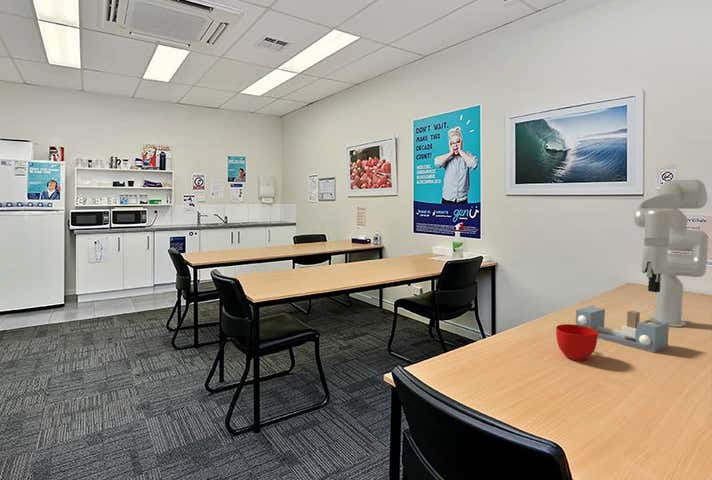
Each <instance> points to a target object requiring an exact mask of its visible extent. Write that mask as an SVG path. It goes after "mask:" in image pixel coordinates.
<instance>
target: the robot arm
mask: <svg viewBox="0 0 712 480" xmlns="http://www.w3.org/2000/svg"><path fill="white" fill-rule="evenodd" d="M707 203H708V192H707V189H706V185H705V184H704V182H702V181H701V179H674V180H668V181H665V182H663V184H661V186H660V188H659V190H658V192H657V194H656V195H655V196H652V197H650V198H647V199H645V200H643V201H642V202H640V204H638V206H637V208H636V210H635V213H634V215H633V216H634V217H633V218H634V219H633V220H634V224H635V226H637V228H642V229H643V228H644V238H643V239H644V242H643V244H644V245H643V248H644V249H643V253H642V261H641V269H640V270H641V272H642V273H643V274H646V275H645V277H646V278H647V279H648V285H647V287H648V289H647V290H648V292H653V293H655V308H654V316H651V317H650V318H649V319H655V320H659V321H664V322H669V327H672V328H673V327H674V328H680V327H686V325H687V324H686V323H687V322H686V321H684V320H682V317H683V297H684V284H683V282H682V281H681V279H680V278H679V277H689V278H701V277H703V276H705V274H706V272H707V263H708V251H709V250H708V249H709V248H708V247H709V237H708V234H707V233H706V232H705V231H704V230H699V229H688V228H687V226H688V217H687V216H686V215H685V213H683V212H682V211H681V210H682V209H683V210H685V209H691V210H692V209H693V210H694V209H695V210H696V209H703V208H704V207H705V206H706V205H707ZM680 209H681V210H680ZM668 251H674V252H675V251H676V252H689V253H690V252H691V253H692V254H685V253H671V252H668ZM678 276H679V277H678Z"/></svg>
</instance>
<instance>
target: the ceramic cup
mask: <svg viewBox="0 0 712 480" xmlns="http://www.w3.org/2000/svg"><path fill="white" fill-rule="evenodd" d="M555 332H556V333H555V335H556V343H557V345H558V347H559V350H560V351H561V352H562V354H563V355H564V357H566V358H568V359H570V360H572V361H579V362H580V361H585V360H587V359H588V358H590V357H591V356H592V354H593V353H594V352H595V349H596V346H597V344H598V339H599V338H598V332H597V331H596V330H595V329H592V328H589V327H586V326H581V325H576V324H573V323H572V324H571V323H569V324H567V323H566V324H565V323H563V324H560V325H559V324H558V325H557V326H556V327H555Z"/></svg>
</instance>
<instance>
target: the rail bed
mask: <svg viewBox="0 0 712 480" xmlns="http://www.w3.org/2000/svg"><path fill="white" fill-rule="evenodd" d="M605 313H606V308H600V307H596V306H591V305H590V306H586V307H583V308H582V307H581V308H579V309H576V311H575V325H581V326H586V327H589V328H592V329H595V330H596V331H597V332H598V338H597V339H600V340H603V341H604V340H605V341H609V342H612V343H615V344H620V345H623V346H627V347H630V348H634V349H637V350H642V351H645V352H649V353H654V354H655V353H657V352H660V351H662V350H664V349H666V348H668V345H669V331H670V326H669V322H664V321H659V320H655V319H650V318H649V319H647V320H643V321H639V323H637V334H636V340H635V339H631V338H627V337H623V336H622V334H621V330H615V329H613V328H608V327H605V319H606V318H605V315H606V314H605ZM648 322H653V323H658V324H659V325H653V324H649V323H648Z"/></svg>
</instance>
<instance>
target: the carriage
mask: <svg viewBox="0 0 712 480" xmlns="http://www.w3.org/2000/svg"><path fill="white" fill-rule="evenodd" d="M640 315H641V312H640V311H637V310H628V311H627V315H626V316H627V317H626V324H625V325H622V326H621V327H620V328H621V329H620V331H621V334H622V336H623V337H627V338H631V339H635V340H636V334H637V323H640V319H641V318H640Z"/></svg>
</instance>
